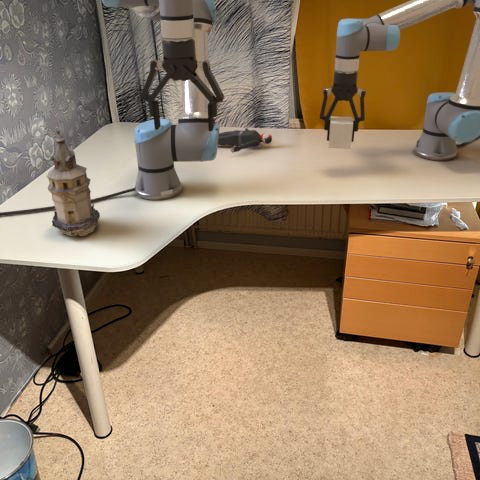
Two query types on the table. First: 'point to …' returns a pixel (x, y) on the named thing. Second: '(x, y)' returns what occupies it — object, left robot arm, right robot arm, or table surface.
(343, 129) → the brick
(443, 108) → the right robot arm
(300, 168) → the table surface
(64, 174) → the miniature building
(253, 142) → the toy
